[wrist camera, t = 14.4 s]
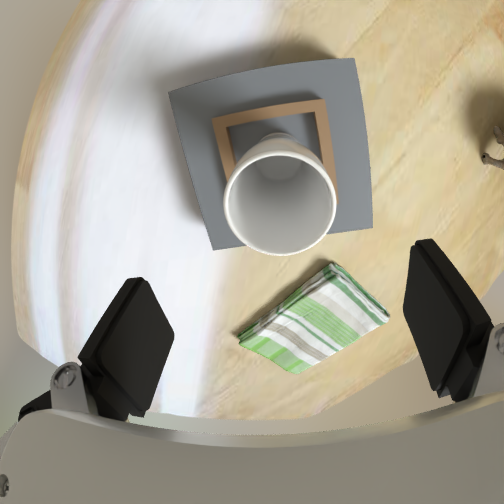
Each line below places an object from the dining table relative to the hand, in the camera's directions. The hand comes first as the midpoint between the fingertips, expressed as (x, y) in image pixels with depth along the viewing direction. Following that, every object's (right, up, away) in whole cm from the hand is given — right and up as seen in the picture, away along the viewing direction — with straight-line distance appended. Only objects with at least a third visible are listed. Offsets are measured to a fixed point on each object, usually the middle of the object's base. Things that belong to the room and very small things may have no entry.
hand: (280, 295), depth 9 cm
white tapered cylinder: (+2, +12, +20) cm, 23 cm away
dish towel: (+10, -11, +39) cm, 42 cm away
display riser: (+2, +14, +24) cm, 28 cm away
